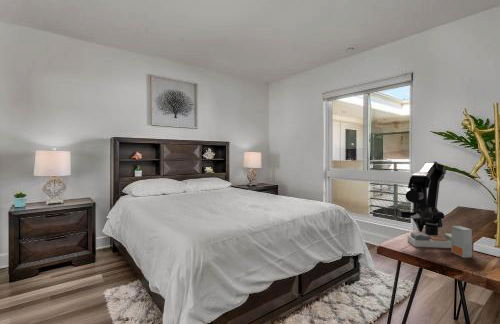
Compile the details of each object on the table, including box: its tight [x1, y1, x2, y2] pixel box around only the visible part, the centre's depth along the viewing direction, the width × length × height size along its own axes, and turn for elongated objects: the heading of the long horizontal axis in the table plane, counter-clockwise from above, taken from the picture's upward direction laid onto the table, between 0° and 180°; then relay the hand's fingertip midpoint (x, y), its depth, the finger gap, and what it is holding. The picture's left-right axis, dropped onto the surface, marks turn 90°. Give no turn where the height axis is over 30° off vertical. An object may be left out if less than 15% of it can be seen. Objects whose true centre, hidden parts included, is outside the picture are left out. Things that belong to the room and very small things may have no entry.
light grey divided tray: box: [407, 234, 451, 249], centre depth 125 cm, size 8×23×3 cm, turn 79°
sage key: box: [443, 233, 452, 241], centre depth 123 cm, size 6×6×2 cm
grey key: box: [410, 231, 430, 240], centre depth 126 cm, size 6×6×2 cm
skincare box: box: [450, 225, 473, 259], centre depth 112 cm, size 6×4×12 cm
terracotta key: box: [429, 235, 448, 241], centre depth 125 cm, size 6×6×2 cm
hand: (420, 231), depth 126 cm, fingers closed
